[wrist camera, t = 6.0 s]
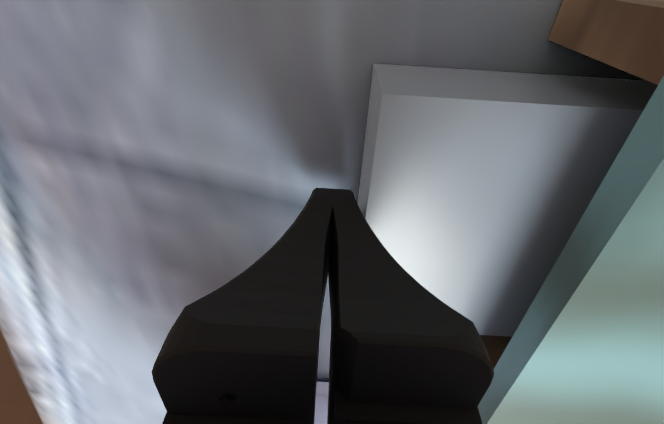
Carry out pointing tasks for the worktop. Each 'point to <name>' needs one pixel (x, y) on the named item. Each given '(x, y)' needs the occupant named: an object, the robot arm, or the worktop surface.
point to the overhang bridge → (599, 261)
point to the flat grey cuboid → (487, 176)
